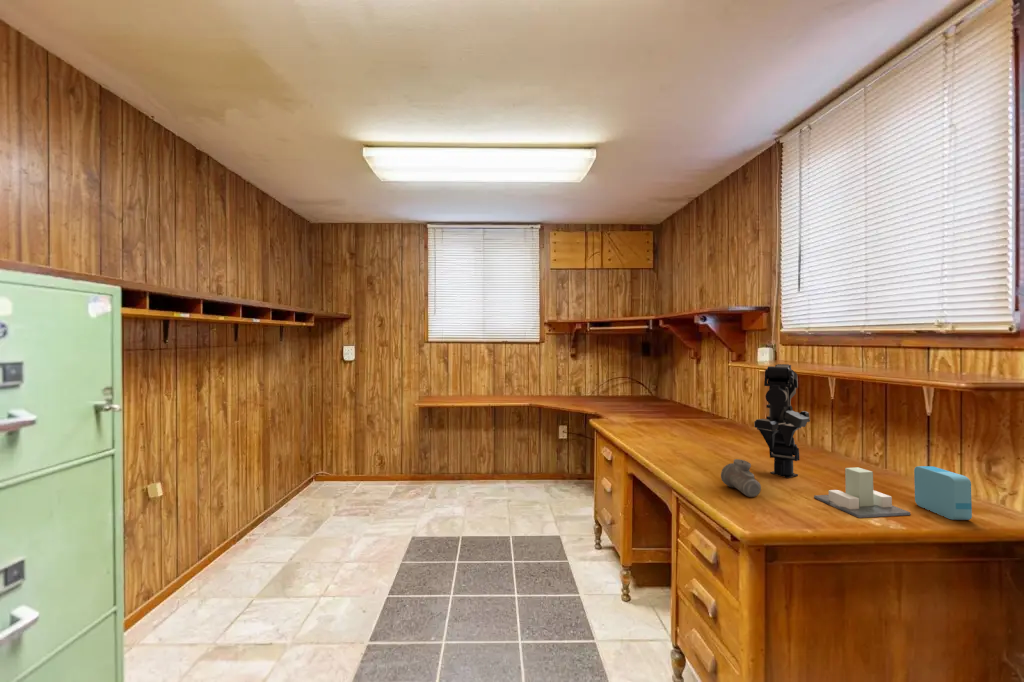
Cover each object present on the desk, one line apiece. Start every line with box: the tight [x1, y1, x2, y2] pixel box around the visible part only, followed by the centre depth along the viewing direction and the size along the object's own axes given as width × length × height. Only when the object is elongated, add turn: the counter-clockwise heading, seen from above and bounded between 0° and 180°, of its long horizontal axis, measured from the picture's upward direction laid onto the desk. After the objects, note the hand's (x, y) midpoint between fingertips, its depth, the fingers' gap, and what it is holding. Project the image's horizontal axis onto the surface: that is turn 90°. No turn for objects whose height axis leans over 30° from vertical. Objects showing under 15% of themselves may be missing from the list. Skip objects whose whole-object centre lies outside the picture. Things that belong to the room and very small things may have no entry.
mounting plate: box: [813, 494, 911, 519], centre depth 122 cm, size 16×15×1 cm
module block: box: [844, 466, 874, 507], centre depth 122 cm, size 4×4×10 cm
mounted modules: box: [828, 489, 893, 509], centre depth 122 cm, size 14×7×3 cm, turn 95°
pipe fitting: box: [720, 458, 762, 498], centre depth 135 cm, size 12×8×10 cm
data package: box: [913, 465, 973, 521], centre depth 117 cm, size 12×4×12 cm, turn 176°
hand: (779, 447), depth 141 cm, fingers open, 9 cm apart
